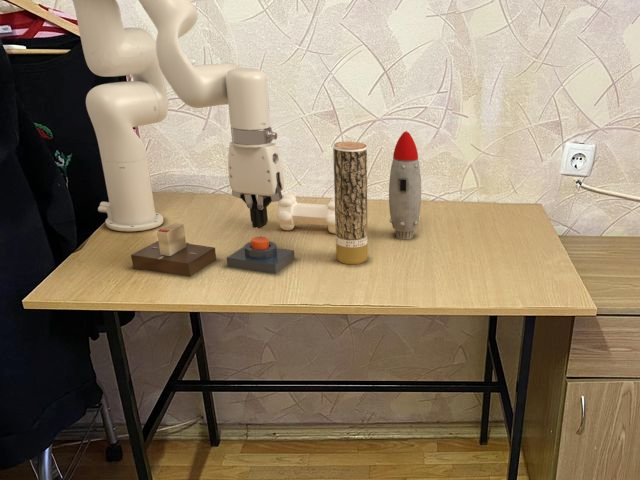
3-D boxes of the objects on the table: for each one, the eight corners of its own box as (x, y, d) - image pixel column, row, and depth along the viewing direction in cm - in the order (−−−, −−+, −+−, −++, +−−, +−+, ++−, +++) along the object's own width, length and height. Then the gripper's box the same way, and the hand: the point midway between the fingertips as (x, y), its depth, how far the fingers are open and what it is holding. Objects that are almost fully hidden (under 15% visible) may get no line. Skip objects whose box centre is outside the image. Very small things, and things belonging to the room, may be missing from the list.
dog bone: (347, 226, 178) (346, 194, 174) (339, 238, 170) (339, 204, 166) (286, 222, 178) (284, 190, 174) (277, 233, 170) (274, 200, 166)
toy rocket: (386, 241, 170) (386, 133, 158) (391, 230, 177) (391, 126, 165) (418, 243, 170) (420, 136, 158) (421, 232, 177) (424, 128, 165)
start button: (248, 249, 150) (247, 241, 150) (256, 243, 154) (256, 235, 153) (264, 251, 150) (263, 243, 149) (272, 245, 153) (271, 237, 152)
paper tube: (372, 257, 160) (372, 144, 148) (359, 267, 154) (357, 150, 143) (345, 252, 162) (342, 140, 150) (330, 262, 156) (327, 146, 144)
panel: (132, 268, 147) (130, 254, 145) (162, 252, 156) (160, 238, 154) (189, 277, 145) (187, 263, 143) (216, 260, 153) (215, 246, 152)
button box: (227, 267, 150) (225, 249, 149) (248, 253, 158) (247, 235, 156) (275, 274, 149) (274, 256, 147) (294, 259, 156) (293, 242, 154)
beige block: (177, 245, 152) (173, 221, 149) (186, 246, 151) (183, 222, 149) (160, 254, 146) (156, 230, 144) (170, 256, 146) (166, 231, 143)
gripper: (295, 136, 143) (300, 225, 151) (226, 129, 145) (236, 217, 154) (278, 143, 136) (284, 236, 145) (206, 136, 139) (217, 227, 147)
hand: (259, 225), depth 149 cm, fingers closed
